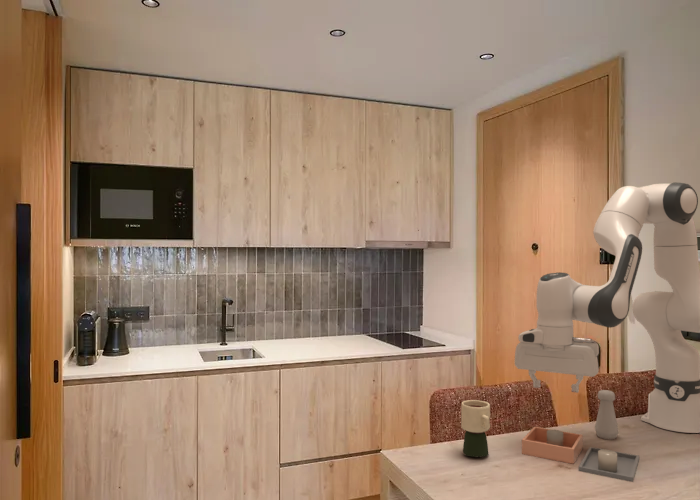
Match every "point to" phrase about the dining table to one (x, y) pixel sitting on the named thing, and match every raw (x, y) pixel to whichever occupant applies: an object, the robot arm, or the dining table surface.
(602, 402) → the salt shaker
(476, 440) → the character mug
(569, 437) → the open box
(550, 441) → the pebble
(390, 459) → the dining table surface
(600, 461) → the pebble
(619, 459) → the tray
